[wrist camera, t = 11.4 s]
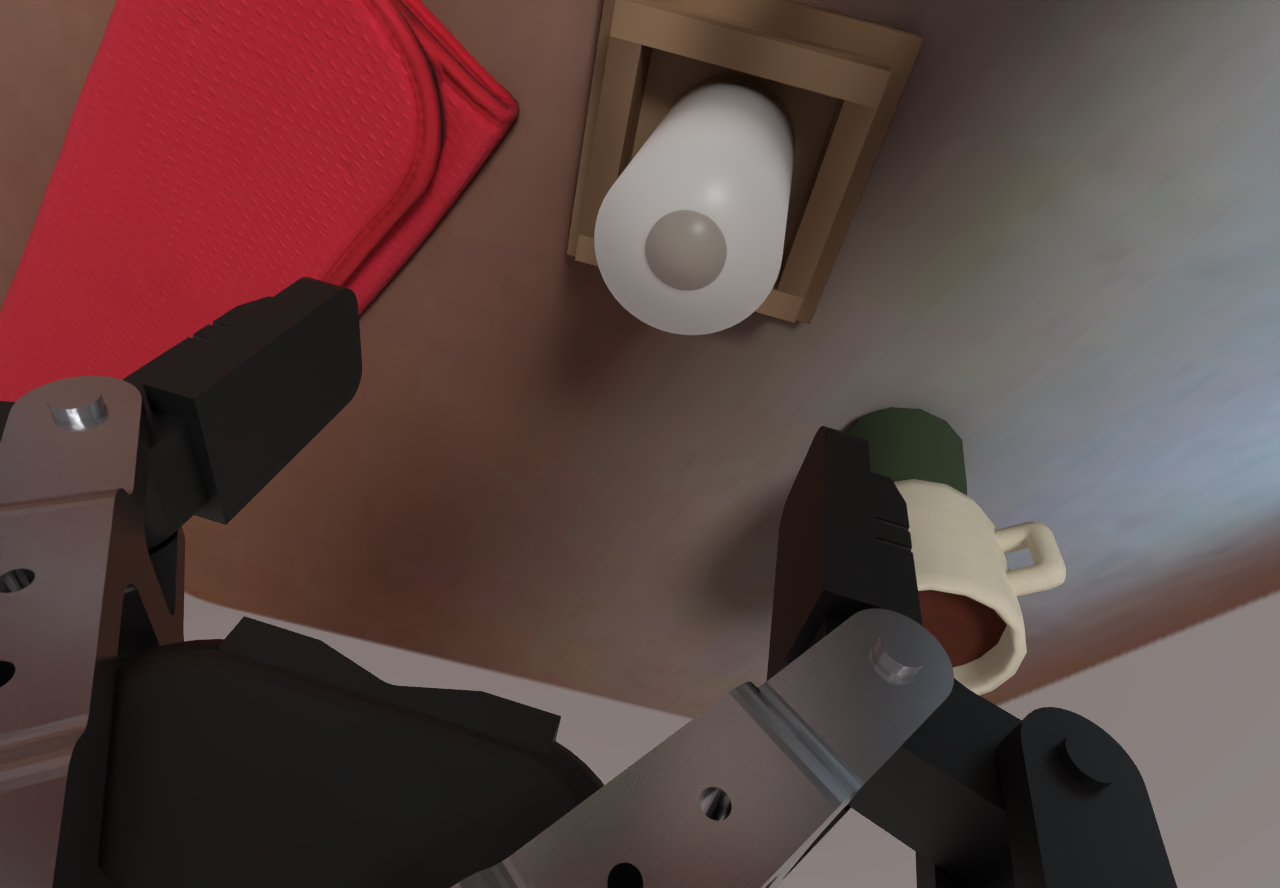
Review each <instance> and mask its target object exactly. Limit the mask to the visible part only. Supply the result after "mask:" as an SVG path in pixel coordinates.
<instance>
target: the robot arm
mask: <svg viewBox="0 0 1280 888" xmlns="http://www.w3.org/2000/svg"><path fill="white" fill-rule="evenodd" d="M361 375H362V358H361V343H360V328H359V313H358V301H357V297H356V295H355V293H354V292H353V291H352V290H351V289H349V288H345V287H342V286H338V285H335V284H331V283H328V282H324V281H321V280H317V279H314V278H310V277H303V278H301V279H299V280H297V281H296V282H294V283H293V284H291V285H290V286H288V287H287V288H285V289H284V290H282V291H281V292H279V293H278V294H276V295H275V296H273V297H270V296H268V297H264V298H261V299H258V300H255V301H251V302H248V303H245V304H242V305H238V306H236V307H234V308H233V309H231V310H230V311H228V312H227V313H225V314H223V315H222V316H220V317H219V318H217V319H216V320H214V321H213V324H212V325H209V324H208V325H206V326H205V327H203V328H202V329H200V330H199V331H197V332H195V333H194V334H193V338H190V337H188V338H186V339H185V340H183V341H181V342H180V343H178V344H177V345H175V346H174V347H172V348H170V349H169V350H167V351H166V352H164V353H163V354H161V355H160V356H158V357H156V358H155V359H153V360H152V361H150V362H149V363H147V364H146V365H144V366H142V367H141V368H139V369H138V370H136V371H135V372H133V373H132V374H130V375H128V376H127V377H125V378H124V379H122V380H120V379H117V378H112V377H106V376H80V377H72V378H66V379H61V380H58V381H54V382H50V383H48V384H45V385H42V386H40V387H38V388H36V389H33V390H31V391H30V392H28V393H27V394H25V395H23V396H22V397H21V398H20V399H19V400H17V401H16V402H8V401H0V888H777V887H778V886H779V885H780V884H781V883H782V882H783V881H784V880H785V879H786V878H787V877H788V876H789V874H791V872H792V871H793V870H794V869H795V868H796V867H797V866H798V865H799V864H800V863H801V862H802V861H803V859H805V858H806V857H807V856H808V854H809V853H810V852H811V851H812V850H813V849H814V848H815V847H816V846H817V845H818V844H819V843H820V842H821V841H822V840H823V839H824V837H825V836H826V835H827V834H828V833H829V832H830V831H831V830H832V829H833V828H834V827H835V826H836V825H837V824H838V823H839V822H840V821H841V820H842V818H843V817H844V816H845V815H846V814H847V813H848V812H849V811H850V810H851V809H852V808H853V809H855V810H856V811H857V812H859V813H860V814H862V815H863V816H865V817H866V818H868V819H869V820H871V821H872V822H873V823H875V824H876V825H878V826H879V827H881V828H882V829H884V830H885V831H887V832H888V833H890V834H891V835H893V836H894V837H896V838H897V839H898V840H900V841H901V842H903V843H904V844H906V845H907V846H909V847H910V848H912V849H913V850H915V851H916V874H917V888H1177V885H1176V882H1175V879H1174V876H1173V873H1172V869H1171V866H1170V863H1169V860H1168V856H1167V853H1166V850H1165V847H1164V844H1163V840H1162V837H1161V834H1160V831H1159V828H1158V824H1157V821H1156V818H1155V815H1154V812H1153V808H1152V805H1151V802H1150V799H1149V795H1148V792H1147V789H1146V786H1145V783H1144V781H1143V778H1142V776H1141V774H1140V772H1139V770H1138V769H1137V767H1136V765H1135V764H1134V762H1133V761H1132V759H1131V758H1130V756H1129V755H1128V754H1127V753H1126V751H1125V750H1123V748H1122V747H1121V746H1120V745H1119V744H1118V743H1117V742H1116V741H1115V740H1114V739H1113V738H1112V737H1111V736H1110V735H1109V734H1108V733H1106V732H1105V731H1104V730H1103V729H1102V728H1100V727H1099V726H1097V725H1095V724H1094V723H1093V722H1091V721H1090V720H1088V719H1086V718H1084V717H1082V716H1081V715H1078V714H1076V713H1073V712H1071V711H1068V710H1064V709H1061V708H1054V707H1044V708H1039V709H1036V710H1034V711H1032V712H1031V713H1029V714H1028V715H1027V716H1026V717H1025V718H1024V719H1023V720H1020V719H1018V718H1016V717H1015V716H1013V715H1011V714H1010V713H1008V712H1006V711H1004V710H1003V709H1001V708H999V707H998V706H996V705H994V704H993V703H991V702H989V701H987V700H986V699H984V698H982V697H981V696H979V695H977V694H976V693H974V692H973V691H971V690H969V689H968V688H966V687H965V686H964V685H962V684H961V683H960V682H959V681H957V680H956V679H955V678H954V673H953V668H952V664H951V661H950V659H949V657H948V655H947V653H946V651H945V650H944V648H943V647H942V645H941V644H940V643H939V642H938V640H937V639H936V638H935V637H934V636H933V635H932V634H931V633H930V632H929V631H928V630H927V629H925V628H924V627H923V624H922V617H921V609H920V602H919V594H918V587H917V579H916V572H915V564H914V557H913V552H911V549H912V542H911V534H910V532H909V531H908V530H909V519H908V512H907V504H906V501H905V500H904V498H903V497H902V495H901V493H900V492H899V490H898V489H897V487H896V485H895V484H894V482H893V481H892V479H891V478H890V477H887V476H883V475H880V474H876V473H873V472H871V469H870V456H869V444H868V440H867V439H866V438H863V437H859V436H856V435H852V434H849V433H845V432H842V431H838V430H835V429H831V428H828V427H825V426H822V427H820V428H819V430H818V431H817V433H816V435H815V437H814V439H813V442H812V444H811V446H810V448H809V450H808V453H807V455H806V457H805V459H804V462H803V464H802V466H801V468H800V471H799V473H798V475H797V477H796V480H795V482H794V484H793V486H792V488H791V491H790V493H789V495H788V498H787V501H786V504H785V507H784V510H783V514H782V518H781V523H780V528H779V539H778V551H777V563H776V576H775V588H774V600H773V612H772V624H771V636H770V648H769V660H768V672H767V682H765V683H764V684H763V685H761V686H759V687H757V688H756V687H755V685H754V684H753V683H751V682H746V683H743V684H741V685H739V686H738V687H736V688H734V689H733V690H732V691H730V692H729V693H727V694H726V695H725V696H723V697H722V698H721V699H719V700H718V701H717V702H715V703H714V704H713V705H711V706H710V707H709V708H707V709H706V710H705V711H703V712H702V713H701V714H699V715H698V716H697V717H695V718H694V719H693V720H691V721H690V722H689V723H687V724H686V725H685V726H683V727H682V728H681V729H679V730H678V731H677V732H675V733H674V734H673V735H671V736H670V737H669V738H667V739H666V740H665V741H663V742H662V743H660V744H659V745H658V746H656V747H655V748H654V749H653V750H651V751H650V752H649V753H647V754H646V755H645V756H643V757H642V758H640V759H639V760H638V761H636V762H635V763H634V764H632V765H631V766H630V767H628V768H627V769H626V770H624V771H623V772H622V773H620V774H619V775H618V776H616V777H615V778H614V779H613V780H611V781H610V782H608V783H607V784H606V785H604V784H603V783H602V782H601V780H600V779H599V778H598V777H597V776H596V775H595V774H594V772H593V771H592V770H591V769H590V768H589V767H588V766H587V765H586V764H585V763H584V762H583V761H582V760H580V759H579V758H578V757H577V756H576V755H574V754H573V753H572V752H571V751H569V750H568V749H566V748H565V747H563V746H562V745H561V744H559V743H557V742H556V736H557V732H558V727H559V723H560V719H561V716H558V715H555V714H552V713H549V712H546V711H543V710H539V709H536V708H533V707H530V706H527V705H523V704H520V703H517V702H514V701H511V700H508V699H504V698H501V697H498V696H495V695H492V694H489V693H485V692H482V691H469V690H454V689H439V688H422V687H408V686H396V685H391V684H388V683H386V682H384V681H382V680H380V679H379V678H377V677H376V676H374V675H373V674H371V673H370V672H368V671H367V670H365V669H364V668H362V667H360V666H359V665H357V664H356V663H354V662H353V661H351V660H350V659H348V658H347V657H345V656H343V655H342V654H341V653H339V652H337V651H336V650H334V649H333V648H331V647H330V646H328V645H327V644H325V643H324V642H322V641H320V640H318V639H314V638H311V637H308V636H305V635H302V634H298V633H295V632H292V631H289V630H286V629H282V628H280V627H276V626H273V625H270V624H267V623H264V622H260V621H257V620H254V619H251V618H248V617H243V618H242V619H241V621H240V622H239V623H238V624H237V625H236V627H235V628H234V629H233V630H232V631H231V632H230V634H229V635H228V636H227V637H226V638H225V639H224V640H223V639H211V640H193V641H186V642H184V635H183V619H184V574H185V535H184V532H183V529H182V525H183V524H184V523H185V522H186V521H187V520H189V519H190V518H191V517H192V516H193V515H196V516H199V517H202V518H206V519H209V520H212V521H215V522H219V523H222V524H225V525H226V524H227V523H228V522H229V521H230V520H231V519H232V518H233V517H234V516H235V515H236V514H237V513H238V512H239V511H240V510H241V509H242V508H243V507H244V506H245V505H246V504H247V503H248V502H249V501H250V500H251V499H252V498H253V497H254V496H255V495H256V494H257V493H258V492H259V491H260V490H261V489H262V488H263V487H264V486H266V485H267V484H268V483H269V482H270V481H271V480H272V479H273V478H274V477H275V476H276V475H277V474H278V473H279V472H280V471H281V470H282V469H283V468H284V467H285V466H286V465H287V464H288V463H289V462H290V461H291V460H292V459H293V458H294V457H295V456H296V455H297V454H298V453H299V452H300V451H301V450H302V449H303V448H304V447H305V446H306V445H307V444H308V443H309V442H310V441H311V440H312V439H313V438H314V437H315V436H316V435H317V434H318V433H319V432H320V431H321V430H322V429H323V428H324V427H325V426H326V425H327V424H328V423H329V422H330V421H331V420H332V419H333V418H334V417H335V416H336V415H337V414H338V413H339V412H340V411H341V410H342V409H343V408H344V407H345V406H346V405H347V404H348V403H349V402H350V401H351V400H352V398H353V397H354V395H355V393H356V391H357V389H358V386H359V384H360V380H361Z"/></svg>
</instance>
